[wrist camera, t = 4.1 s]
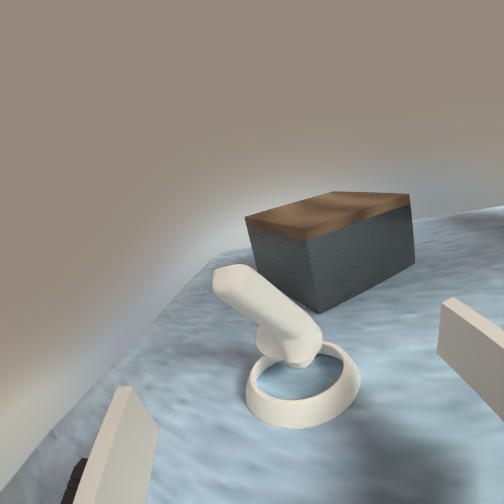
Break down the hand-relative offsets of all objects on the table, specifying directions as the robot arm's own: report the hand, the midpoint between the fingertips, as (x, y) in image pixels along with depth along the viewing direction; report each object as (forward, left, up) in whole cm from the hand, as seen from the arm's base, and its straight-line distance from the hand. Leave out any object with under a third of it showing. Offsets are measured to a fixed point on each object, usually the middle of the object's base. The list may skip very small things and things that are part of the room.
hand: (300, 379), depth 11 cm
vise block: (-15, -20, -6) cm, 25 cm away
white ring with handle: (-2, -6, -6) cm, 9 cm away
